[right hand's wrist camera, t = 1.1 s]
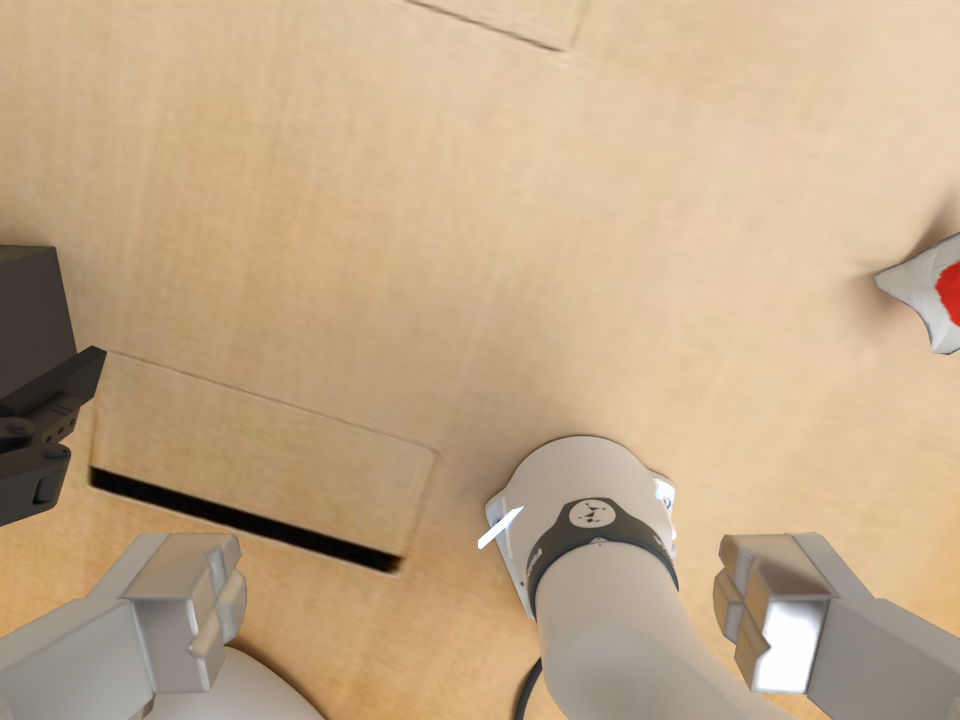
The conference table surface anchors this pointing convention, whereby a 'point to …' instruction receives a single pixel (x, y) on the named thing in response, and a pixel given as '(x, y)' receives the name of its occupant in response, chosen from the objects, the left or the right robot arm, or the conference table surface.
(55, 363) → the chest
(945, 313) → the fish
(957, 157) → the conference table surface
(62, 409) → the left robot arm
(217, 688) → the white rounded housing
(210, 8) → the conference table surface
